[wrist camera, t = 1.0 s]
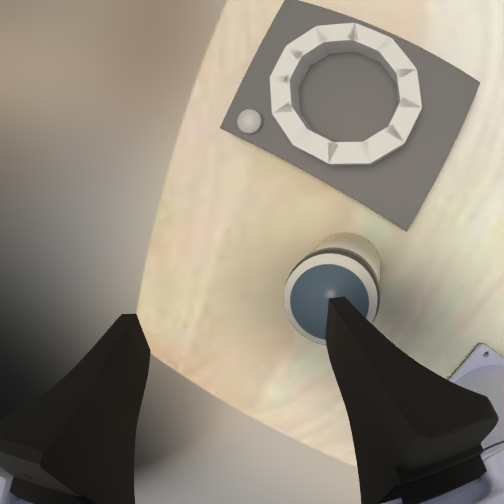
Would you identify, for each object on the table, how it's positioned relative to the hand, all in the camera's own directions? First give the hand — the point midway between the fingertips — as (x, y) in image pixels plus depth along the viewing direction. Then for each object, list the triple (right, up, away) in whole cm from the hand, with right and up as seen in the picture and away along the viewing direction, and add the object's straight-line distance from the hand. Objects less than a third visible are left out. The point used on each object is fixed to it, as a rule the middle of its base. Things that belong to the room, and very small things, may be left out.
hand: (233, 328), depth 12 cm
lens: (+7, +2, +10) cm, 13 cm away
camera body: (+7, +13, +8) cm, 16 cm away
